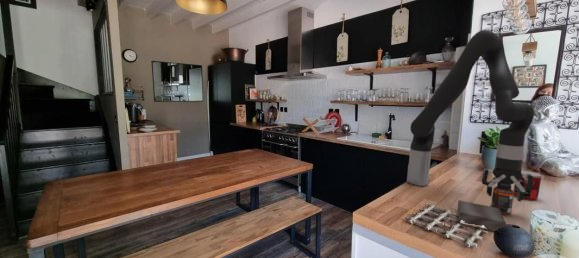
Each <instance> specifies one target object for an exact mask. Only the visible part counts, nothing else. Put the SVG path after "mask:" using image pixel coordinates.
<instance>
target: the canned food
mask: <svg viewBox="0 0 579 258" xmlns="http://www.w3.org/2000/svg"><path fill="white" fill-rule="evenodd" d="M521 173H522V174H531V175H532V176H533V185H532V191H526V192H525V193H524V199H523V200H527V201H537V200H538V198H539V194H540V188H541V182H542V175H541V174H540V173H538V172H532V171H527V170H521ZM518 182H519V183H520V184H521V186H522V187H526V180H525V179H524V177H522V178H521V179H519V180H518ZM518 190H519V188H518V187H517V186H516V184H515V183H514V187H513V192H514V196H513V197H516V198H517V196H518Z"/></svg>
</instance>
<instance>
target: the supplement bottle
mask: <svg viewBox="0 0 579 258" xmlns="http://www.w3.org/2000/svg"><path fill="white" fill-rule="evenodd" d="M514 197H515V196H514V190H513V189H512V184H508V183H501V182H498V183H496V186H495V187H493V188H492V196H491V203H490V204H491V205H490V207H495V208H499V209H500V211H501V213H502V215H505V216H508V215H511V214H512V211H513V210H512V209H513V201H514Z"/></svg>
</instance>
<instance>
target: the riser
mask: <svg viewBox="0 0 579 258" xmlns="http://www.w3.org/2000/svg"><path fill="white" fill-rule="evenodd" d="M457 201H458V202H457V203H458V204H457V217H458V216H459V220H458V222H459V221H461V220H463V221H465V223H468V224H475V225H484V226H485V227H486V228H487V229H488V230H487V231H489V230H490V231H489V232H493V233H495V232H494V231H495V230H496V229H497V228H498V227H500V226H503V225H505V226H506V224H507V223H506V222H507V221H506V219H505V218H504V216H503V215H504V214H502V213H501V211H500V209H499V208H495V207H491V205H490V206H489V205H484V204H479V203H475V202H469V201H465V200H457Z"/></svg>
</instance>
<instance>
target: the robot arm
mask: <svg viewBox="0 0 579 258" xmlns="http://www.w3.org/2000/svg"><path fill="white" fill-rule="evenodd" d="M506 56H507V55H506V52H505V47H504V41H503V39H502V38H501V36H499V35H498V34H496V33H495V32H494V31H491V30H489V29H482V30H479V31H477V32H476V33H475V34H473V36H472V37H470V39H469V41H468V42H467V44H466V45H465V47H464V49H463V51H462V53H461V54H460V55H459V57H458V59H457V60H456V62H455V64H453V66H452V68H451V69H450V71H449V73H447V75H446V76H445V78H443V80H442V82H441V83H440V84H439V85H438V87H437V89H435V91H434V93H433V94H432V96H431V98H430V99H429V101H428V102H427V104H426V105H425V107H424V109H423V110H422V111H421V112H420V113H419V114H418V115H417V117H415V119H413V121H412V122H411V124H410V133H411V134H412V135H413V136H412V141H411V143H410V149H409V158H408V159H409V160H408V166H407V176H406V183H407V182H409V183H408V184H411V185H413V184H414V186H418V187H420V186H421V187H424V186H428V185H429V176H430V168H431V167H430V166H431V159H432V158H431V157H432V147H433V145H434V138H435V129H436V126H435V123H436V122H437V120H439V118H440V116H442V114H443V113H444V112H445V111H446V110H448V109H449V108H450V107H451V106H452V105H453V104H454V103H455V102H456V101H457V100H458V98H459V97H460V96H461V94H462V93H463V92H464V91H465V89H466V88H467V85H468V84H469V81H470V76H471V73H472V70H473V68H474V67H475V64H476V63H477V62H478V61H479V59H480V58H482V59H483V60H484V62H485V64H486V65H487V69H488V79H489V85H490V88H491V90H492V93H493V96H494V104H495V105H494V109H495V110H494V111H495V115H496V117H497V118H498V119H499V120H500V121H501V122H504V123H510V124H509V126H508V127H506V128H502V129H501V130H500V131H499V134H498V136H499V137H498V143H497V144H498V145H497V147H496V153H495V163H494V168H493V169H487V168H484V169H483V172H482V176H481V184H482V185H485V186H486V195H487V196H488V197H492V195H493V186H495V185H497V183H498V182H501V183H508V184H511V185H513V184H514V185H515V184H516V186H517V187H518V188H519V190H518V196H517V197H516V200H517V201H518V202H522V201H524V200H525V199H524V193H525V192H526V191H532V185H533V176H532V175H531V174H522V173H521V171H523V170H522V168H523V160H524V154H525V151H524V147H525V138H526V134H527V132H528V130H529V128H530V127H531V124H532V122H533V120H534V116H535V109H534V108H533V106H532V105H531V104H529V103H527V102H526V103H525V102H524V103H523V102H513V100H514V99H516V98H517V97H518V96H520V95H519V94H520V90H519V88H518V85H517V83H516V80H515V78H514V76H513V74H512V71H511V70H510V67H509V64H508V61H507V57H506ZM491 174H492V175H493V177H492V178H491V179H490V180H489V181H488V176H490V175H491ZM522 177H524V179H525V180H526V187H522V186H521V184H520V183H519V182H518V180H519V179H521V178H522Z"/></svg>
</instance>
